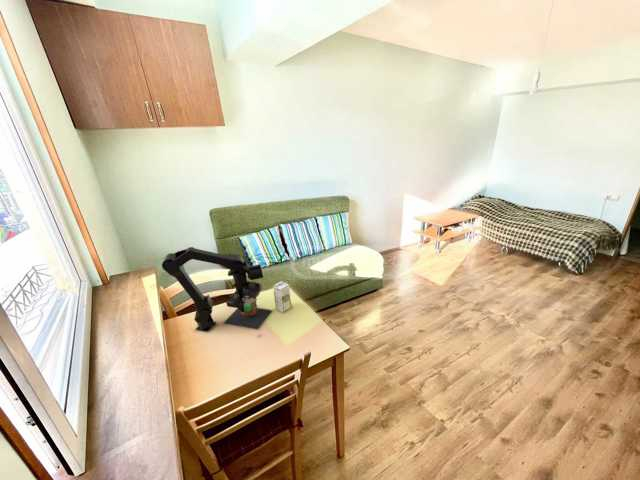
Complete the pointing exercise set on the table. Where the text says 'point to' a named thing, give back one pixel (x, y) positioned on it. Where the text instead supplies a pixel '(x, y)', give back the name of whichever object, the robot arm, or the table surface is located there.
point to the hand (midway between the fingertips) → (246, 308)
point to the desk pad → (248, 318)
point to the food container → (249, 306)
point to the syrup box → (282, 296)
